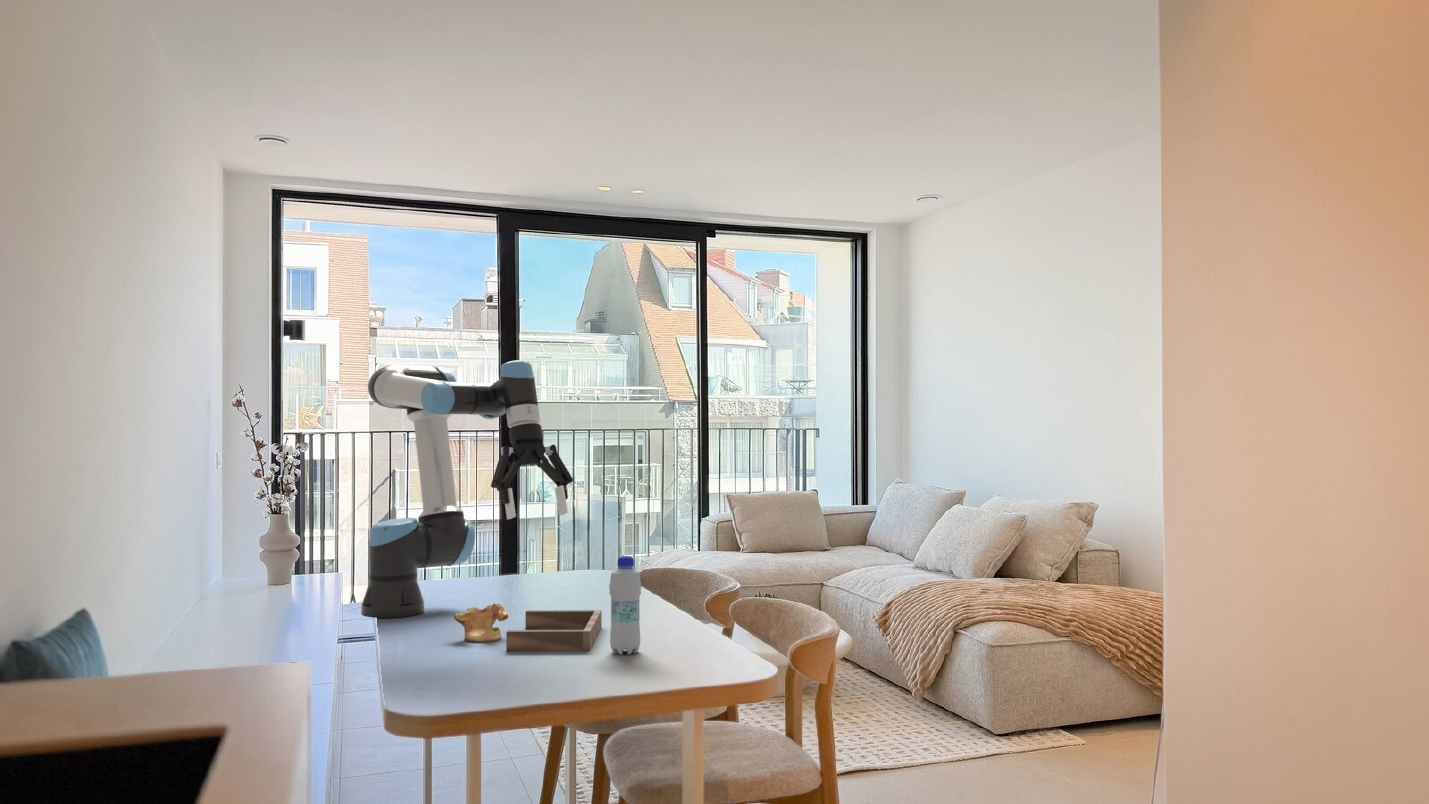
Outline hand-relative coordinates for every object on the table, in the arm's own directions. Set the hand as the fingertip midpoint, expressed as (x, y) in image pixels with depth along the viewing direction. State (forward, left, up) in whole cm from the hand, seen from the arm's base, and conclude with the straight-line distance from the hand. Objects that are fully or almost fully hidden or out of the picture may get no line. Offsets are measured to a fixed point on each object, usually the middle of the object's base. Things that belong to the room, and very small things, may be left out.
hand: (538, 516), depth 222 cm
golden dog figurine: (+5, -11, -27) cm, 30 cm away
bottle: (+19, +21, -27) cm, 39 cm away
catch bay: (+5, +4, -27) cm, 27 cm away
